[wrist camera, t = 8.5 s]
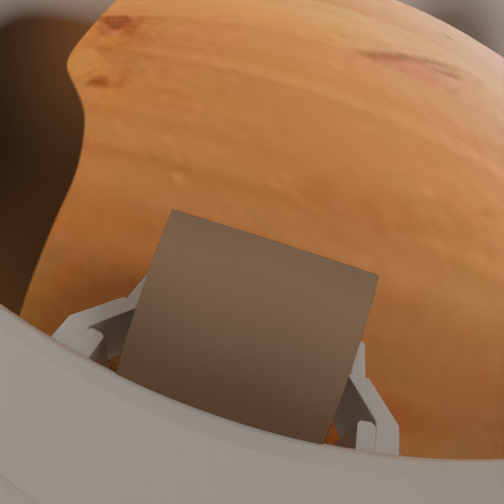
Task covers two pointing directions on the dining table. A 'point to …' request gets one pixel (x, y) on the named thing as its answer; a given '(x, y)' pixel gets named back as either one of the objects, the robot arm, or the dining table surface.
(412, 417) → the dining table surface
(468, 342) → the dining table surface
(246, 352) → the walnut column
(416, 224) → the dining table surface
